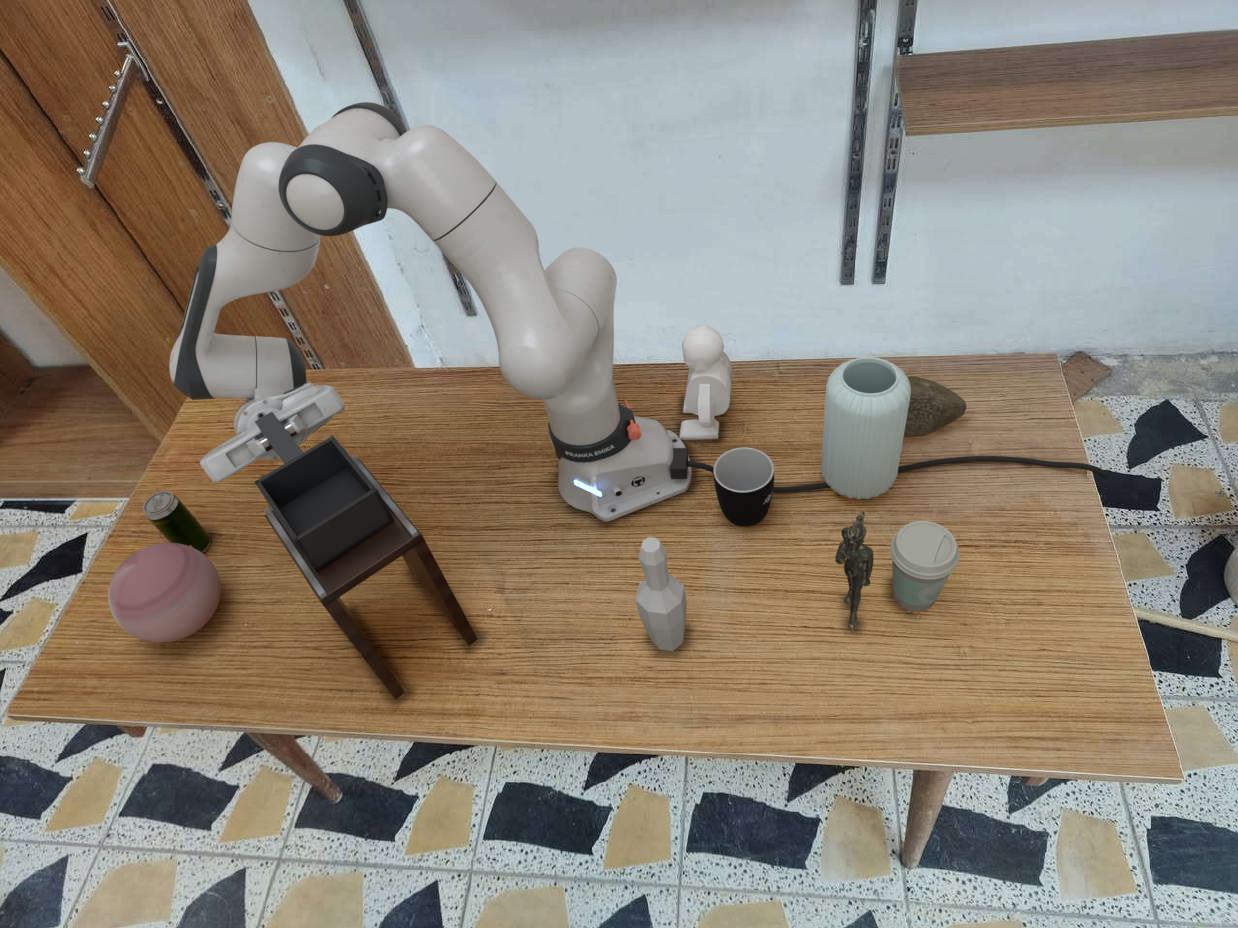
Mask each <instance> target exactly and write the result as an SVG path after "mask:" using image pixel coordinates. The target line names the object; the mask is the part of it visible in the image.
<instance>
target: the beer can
mask: <svg viewBox="0 0 1238 928" xmlns="http://www.w3.org/2000/svg"><path fill="white" fill-rule="evenodd" d="M142 511H143V513H144V515H145V517H146V519H148V521H150V523H151V524H152V525H153V527H155V528H156V529H157V530H158V532H160V534H162V536H163V537H164V538H165V539H166V540H167V541H168V543H178V544H183V545H187V546H190V547H192V548H194V549H196V550H198V551H200V552H201V553H203V554H205V553H206V552H207V550H209V548H210V546H211V543H212V541H211V540H212V539H211V535H210V533H209V532H208V531H207V530H206V529H205V527H204V526H203V525H202V524H201V523H200V522H199V521H198V520H197V519H196V517H195V516H194V515H193V514H192V512H191V511H190V510H189V509H188V508H187V507H186V506H185V504H184V503H183V502H182V501H181V500H180V498H179V497H177V495H176V494H173V493H172V492H171V491H168V490H161V491H158V492H155V493H154V494H152V495H151V496H149V497H148V498H147V499H146V500H145V501H144V503H143V505H142Z"/></svg>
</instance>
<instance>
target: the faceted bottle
mask: <svg viewBox="0 0 1238 928" xmlns="http://www.w3.org/2000/svg"><path fill="white" fill-rule="evenodd" d="M638 561H639V564H640V566H641V568H642V571H643V576H644V579H643V580H642V581H641V582H640V583H639V584H638V587H637V591H636V596H635V604H636V607H637V613H638V616H639V618H640V621H641V622H642V625H643V627H644V629H645V631H646V633H647V634H648V635H647V636H648V637H649V639H650V641H651V642H652V643H653V644H654V645H655V646H656V647H657V648H658V649H659V650H661V651H667V652H669V651H670V652H674V651H675V650H676V649H678V648H679V647H680V646H681V645H682V644H684V643H683V642H684V638H685V632H686V620H687V605H688V601H687V596H686V595H687V594H686V588H685V585H684V584H683V583H682V582H680V581H679V579H678V578H676V577H675V576H674V575H673V574H669V570H668V563H667V562H668V550H667V549H666V547H665V546H664V545H663V543H662V542H661V541H660V540H659V539H657V538H656V537H650V536H648V537H646V538H645V539H644V540H642V543H641V546H640V550H639V555H638Z"/></svg>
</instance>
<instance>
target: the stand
mask: <svg viewBox="0 0 1238 928" xmlns="http://www.w3.org/2000/svg"><path fill="white" fill-rule="evenodd" d="M350 457H351V458H352V459H353V460H354V462H355V463H356V464H357V465H358V467H359V468H360V469H361V470H362V471H363V473H364V474H365V475H366V476H367V478H368V479H369V480H370V481H371V482H372V484H373V485H374V486H375V487H376V489H377V490H378V492H379V493H380V495H381V497H382V499H383V500H384V502H385V504H386V506H387V507H388V509H389V511H390V513H391V515H392V516H393V518H394V521H392V522H391V523H389V524H388V525H386V526H385V527H383V528H382V529H380V530H378V531H377V532H375V533H374V534H372V535H371V536H369V537H368V538H366V539H365V540H363V541H362V542H360V543H358V544H357V545H355V546H354V547H352V548H351V549H349V550H348V551H346V552H345V553H343V554H342V555H340V556H338V557H337V558H335V559H334V560H332V561H331V562H329V563H328V564H326V565H325V566H323V567H321V568H320V569H318V570H317V571H315V570H314V568H313V567H312V565H311V564H310V563H309V561H308V560H307V559H306V557H305V556H304V555H303V553H302V552H301V551H300V549H299V548H298V546H297V545H296V544H295V542H294V541H293V539H292V538H291V536H290V535H289V533H288V532H287V530H286V529H285V527H284V526H283V524H282V523H281V521H280V520H279V518H278V517H277V515H276V514H275V512H274V511H273V509H272V508H271V507H270V506H268V507H266V508H264V509H263V513H265V514H264V515H263V516H264V518H265V519H266V521H267V522H268V523H269V524H268V525H270V527H271V528H272V531H274V533H275V535H276V536H277V538H278V539H279V542H280V543H281V544H282V545H283V547H284V549H285V550H286V552H287V553H288V555H289V557H290V558H291V559H292V561H293V562H294V564H295V566H296V567H297V568H298V570H299V572H300V574H301V575H302V576H303V578H304V579H305V581H306V582H307V584H308V585H309V587H310V588H311V590H312V592H313V593H314V595H315V596H316V598H317V599H318V601H319V603H320V604H321V605H322V606H323V607H324V609H325V610H326V611H327V613H328V614H329V615H330V617H331V618H332V620H334V621H335V623H336V625H337V626H338V627H339V629H340V630H341V631H342V632H343V634H344V636H346V637H347V639H348V640H349V641H350V643H351V644H352V646H353V647H354V648H355V649H356V651H357V652H358V653H359V655H360V656H361V657H362V658H363V659H364V661H365V663H366V664H367V665H368V666H369V668H370V669H371V671H372V672H373V673H374V674H375V676H376V677H378V679H379V680H380V682H381V683H382V685H383V686H384V687H385V689H386V690H387V691H388V692H389V694H390V695H391V696H392V697H393V699H394V700H397V699H398V698H400V697H401V696H403V695H404V694H405V691H404V688H403V687H402V686H401V684H400V682H399V681H398V680H397V679H396V677H395V675H394V673H393V672H392V670H390V668H389V667H388V666H387V663H386V662H385V660H384V659H383V658H382V656H381V655H380V653H379V652H378V650H377V649H376V647H375V646H374V645H373V642H372V641H371V640H370V638H369V637H368V635H367V634H366V633H365V631H364V629H363V628H362V627H361V625H360V623H359V622H358V621H357V619H356V618H355V616H354V615H353V613H352V612H351V610H350V609H349V607H347V605H346V604H345V602H344V600H343V599H342V598H341V597H342V596H344V595H345V594H346V593H348V592H350V591H352V590H353V589H354V588H356V587H357V586H359V585H360V584H362V583H363V582H365V581H366V580H367V579H370V578H371V577H372V576H373V575H375V574H377V573H378V572H380V571H381V570H383V569H384V568H385V567H387V566H388V565H390V564H392V563H393V562H395V561H396V560H398V559H399V558H401V557H402V560H404V562H405V564H406V566H407V567H408V569H409V571H410V573H411V574H412V575H413V576H414V578H415V579H416V580H417V582H418V583H419V584H420V586H421V587H422V588H423V590H424V591H425V592H426V593H427V594H428V596H429V597H430V598H431V599H432V601H433V602H434V604H435V605H436V606H437V607H438V608H439V610H440V611H441V613H443V615H444V616H445V617H446V619H447V620H448V621H449V623H450V624H451V625H452V626H453V628H454V629H455V630H456V632H457V633H458V634H459V635H460V637H461V638H462V639H463V640H464V642H465V643H466V645H467V646H469V647H470V646H471V645H473V643H475V642H476V641H478V639H479V638H478V637H477V635H476V633H475V631H474V629H473V627H472V625H471V624H470V622H469V620H468V618H467V616H466V614H465V613H464V612H465V611H464V610H463V609H462V606H461V605H460V603H459V601H458V599H457V598H456V596H455V594H454V592H453V590H452V588H451V586H450V584H449V582H448V581H447V579H446V577H445V575H444V573H443V571H442V569H441V568H440V565H439V564H438V562H437V560H436V558H435V556H434V554H433V552H432V551H431V548H430V547H429V545H428V543H427V541H426V539H425V537H424V536H423V534H422V533H421V531H420V530H419V529H418V527H417V526H416V525H415V524H414V523H413V522H412V520H411V519H410V518H409V516H407V514H406V513H405V512H404V511H403V509H402V508H401V507H400V505H398V504H397V502H396V501H395V500H394V499H393V497H392V496H391V495H390V493H389V492H388V491H387V490H386V489H385V488H384V487H383V486H382V484H381V483H380V482H379V480H378V479H377V478H376V477H375V476H374V475H373V473H372V472H371V471H370V470H369V469H368V467H367V466H366V465H365V463H364V462H363V461H362V460H361V459H360V458H359V457H357V456H356V455H355V454H354V455H352V456H350Z"/></svg>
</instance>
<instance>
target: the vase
mask: <svg viewBox="0 0 1238 928" xmlns="http://www.w3.org/2000/svg"><path fill="white" fill-rule="evenodd" d="M908 377H909V376H907V375H906V373H905V371H903V369H901V368H900V367H898V365H897V364H895V363H893V362H890V361H889V360H887V359H882V358H880V357H874V356H863V357H862V356H861V357H860V356H859V357H857V358H855V359H854V358H851V359H848V360H847V361H846V362H842V363H841V364H839V365H838V366H837V367H836V368H835V369H833V371H832V372H831V374H829V376H828V378H827V381H826V385H825V394H824V395H825V397H824V412H823V428H822V429H823V430H822V446H821V463H820V468H821V469H820V470H821V475H822V478H823V479H824V483H825V482H826V483H827V484H828V485H829V486H831V488H830V489H831V490H832V491H833V492H835V493H838V495H840V496H845V497H847V499H856V500H859V501H860V500H861V499H865V500H870V499H871V498H877V497H879V496H880V495H883V494H886V492H887V491H888V490H889V489H891V487H893V485H894V483H895V481H896V479H897V477H898V474H899V473H898V467H900V461H901V460H900V459H901V455H902V448H903V443H904V437H905V436H904V431H905V425H906V419H907V413H908V407H909V401H910V395H911V386H910V384H909V380H908Z"/></svg>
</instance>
